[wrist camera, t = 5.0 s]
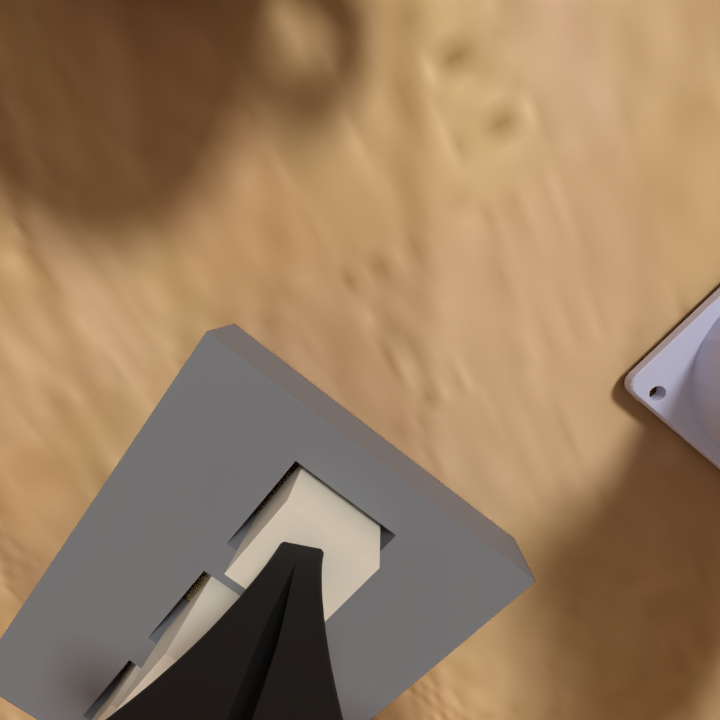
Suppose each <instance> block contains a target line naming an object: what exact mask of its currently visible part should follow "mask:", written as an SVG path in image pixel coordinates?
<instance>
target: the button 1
mask: <svg viewBox="0 0 720 720" xmlns="http://www.w3.org/2000/svg"><path fill="white" fill-rule="evenodd" d="M140 670H141V667H139V666H137V665H136V664H134V663H133V662H132V663H131V664H130V665H129V667H128V668H127V669H126V670H125V671H124V673H123V674H122V676H121V677H120V679H119V680H118V682H117V683H116V685H115V686H114V688H113V689H112V691H111V692H110V694H109V695H108V697H107V698H106V700H105V701H104V703H103V704H102V706H101V707H100V709H99V710H98V711H97V713H96V714H95V716H94V717H93V719H92V720H106V719H107V718H108V717H110V716H111V715H112V714H113V713H114V711H115V709H116V708H117V706H118V705H119V703H120V702H121V700H122V698H123V697H124V695H125V694H126V692H127V691H128V689H129V687H130V686H131V684H132V683H133V681H134V679H135V678H136V676H137V675H138V673H139V672H140Z"/></svg>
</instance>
